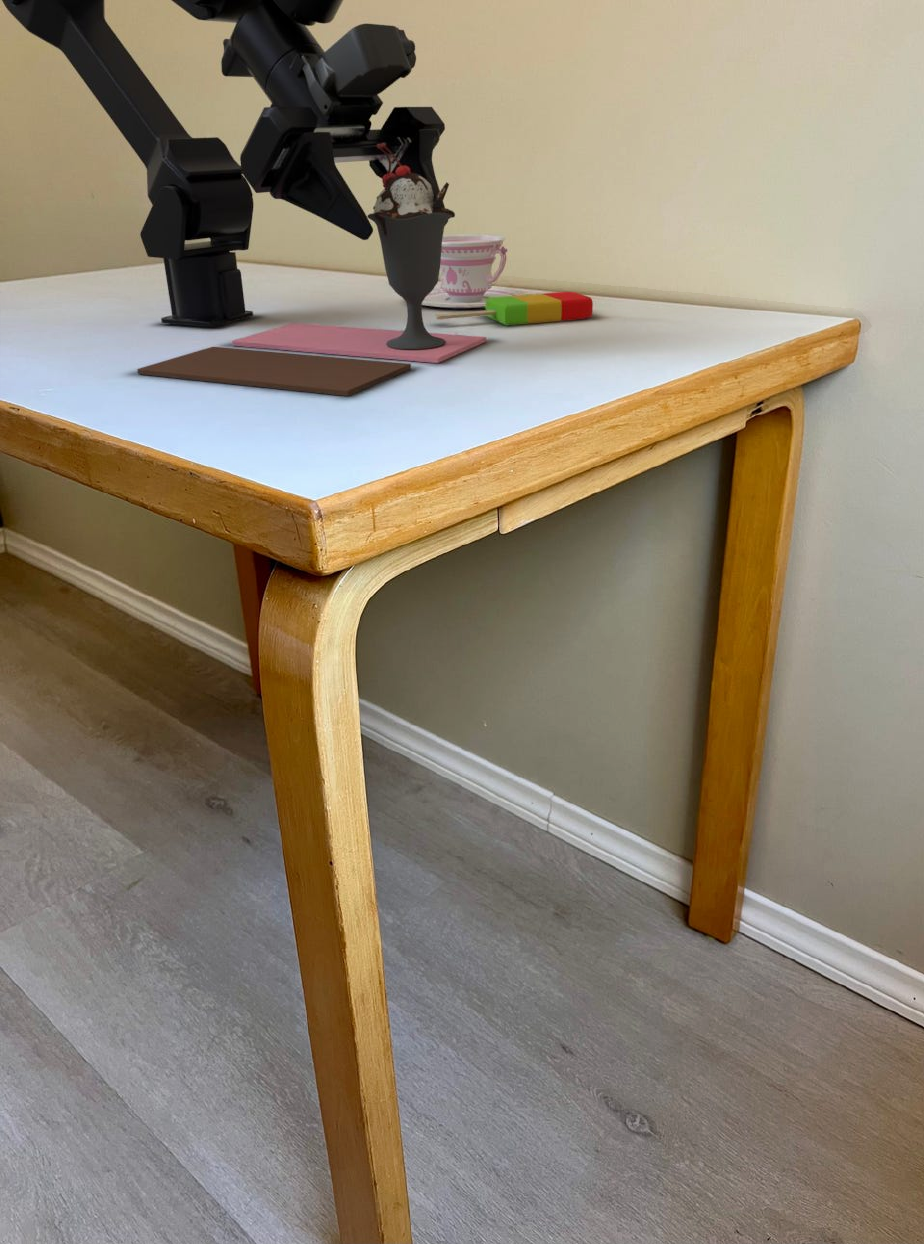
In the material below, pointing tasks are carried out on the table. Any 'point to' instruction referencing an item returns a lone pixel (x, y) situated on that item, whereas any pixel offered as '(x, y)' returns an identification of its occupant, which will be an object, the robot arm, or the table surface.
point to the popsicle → (533, 308)
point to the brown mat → (277, 370)
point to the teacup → (469, 272)
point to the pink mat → (354, 342)
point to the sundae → (411, 246)
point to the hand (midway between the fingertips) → (408, 230)
